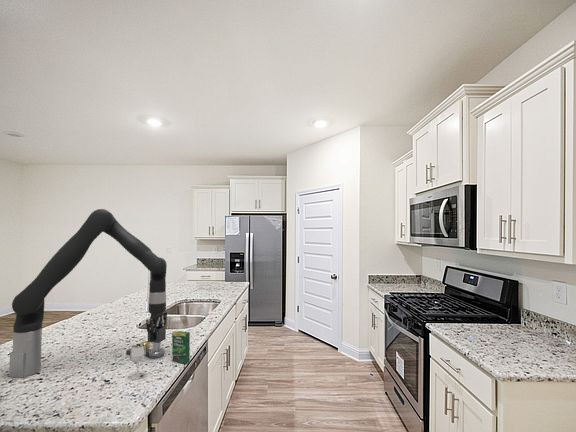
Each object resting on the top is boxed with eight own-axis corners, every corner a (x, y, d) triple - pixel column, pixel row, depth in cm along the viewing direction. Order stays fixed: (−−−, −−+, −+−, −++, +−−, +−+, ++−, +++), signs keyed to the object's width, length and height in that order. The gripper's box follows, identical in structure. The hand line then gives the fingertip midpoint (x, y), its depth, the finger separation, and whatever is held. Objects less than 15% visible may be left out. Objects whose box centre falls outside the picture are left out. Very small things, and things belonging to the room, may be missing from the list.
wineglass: (141, 371, 135) (141, 342, 135) (148, 375, 131) (148, 345, 132) (126, 376, 130) (127, 346, 131) (133, 381, 127) (134, 349, 127)
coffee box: (171, 361, 145) (171, 331, 146) (175, 359, 148) (176, 329, 148) (185, 364, 142) (185, 334, 142) (190, 362, 145) (190, 332, 145)
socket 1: (146, 352, 155) (146, 344, 155) (138, 352, 156) (138, 343, 156) (151, 349, 159) (151, 341, 159) (143, 349, 160) (143, 340, 160)
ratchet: (159, 359, 148) (159, 344, 148) (123, 356, 150) (123, 342, 151) (166, 354, 154) (166, 339, 154) (132, 351, 157) (132, 337, 157)
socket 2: (159, 343, 148) (159, 329, 148) (147, 342, 149) (147, 328, 149) (165, 338, 154) (165, 325, 154) (154, 338, 155) (154, 325, 155)
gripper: (156, 305, 144) (155, 344, 144) (172, 298, 159) (172, 334, 158) (140, 304, 146) (139, 343, 145) (158, 297, 160) (157, 333, 159)
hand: (156, 338), depth 151 cm, fingers closed on socket 2, 5 cm apart
